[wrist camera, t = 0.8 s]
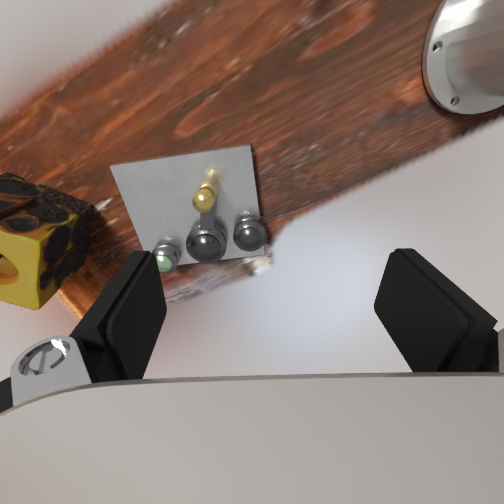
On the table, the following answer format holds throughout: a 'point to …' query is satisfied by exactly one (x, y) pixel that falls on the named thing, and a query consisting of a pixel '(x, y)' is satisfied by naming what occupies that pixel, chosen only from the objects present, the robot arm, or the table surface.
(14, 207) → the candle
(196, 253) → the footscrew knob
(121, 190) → the plate
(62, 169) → the table surface
